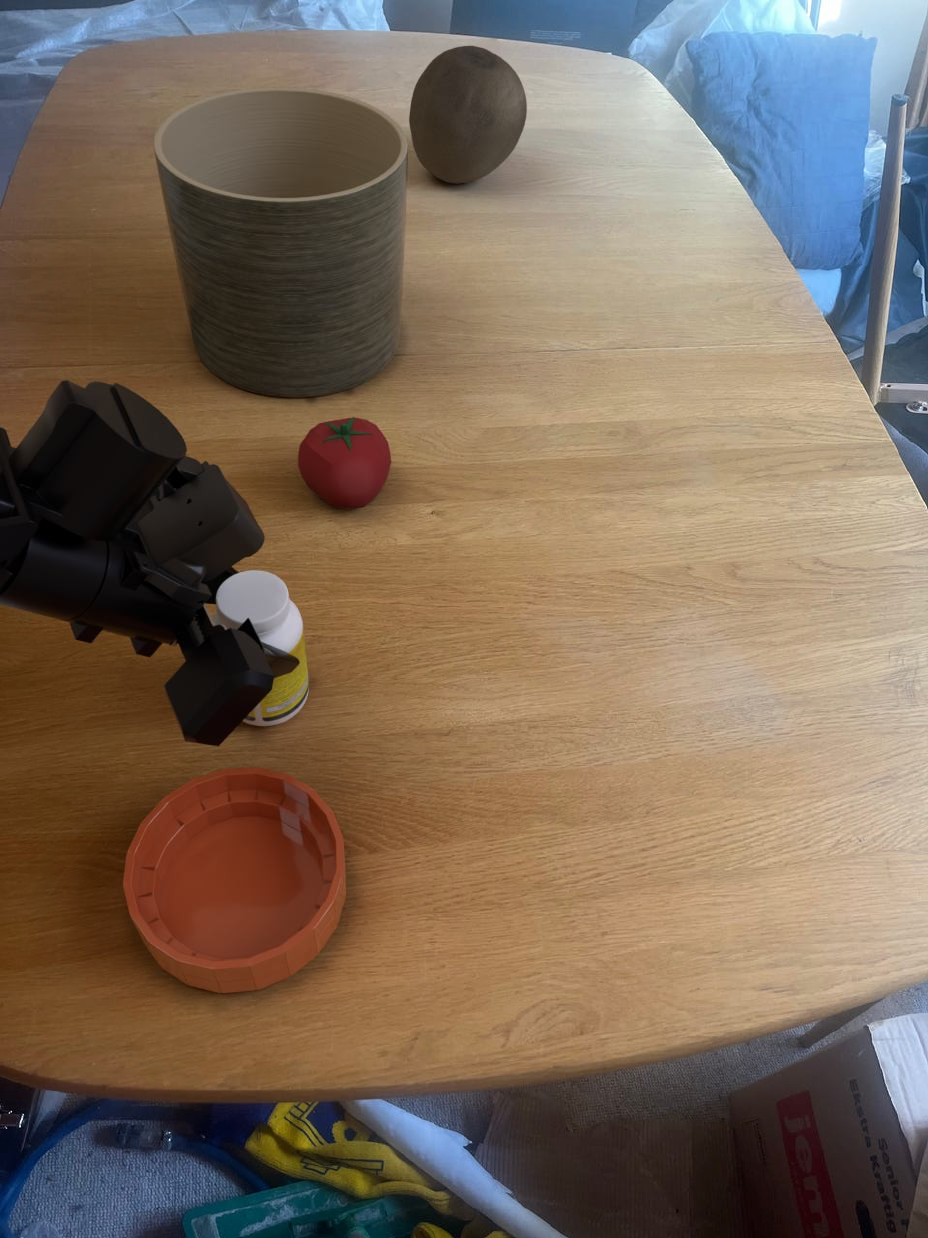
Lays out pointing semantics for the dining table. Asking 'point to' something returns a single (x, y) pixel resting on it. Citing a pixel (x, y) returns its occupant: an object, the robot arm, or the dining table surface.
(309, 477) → the tomato
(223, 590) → the pill bottle
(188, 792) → the bowl
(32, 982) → the dining table surface
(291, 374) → the planter
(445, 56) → the egg shaped brown fruit
